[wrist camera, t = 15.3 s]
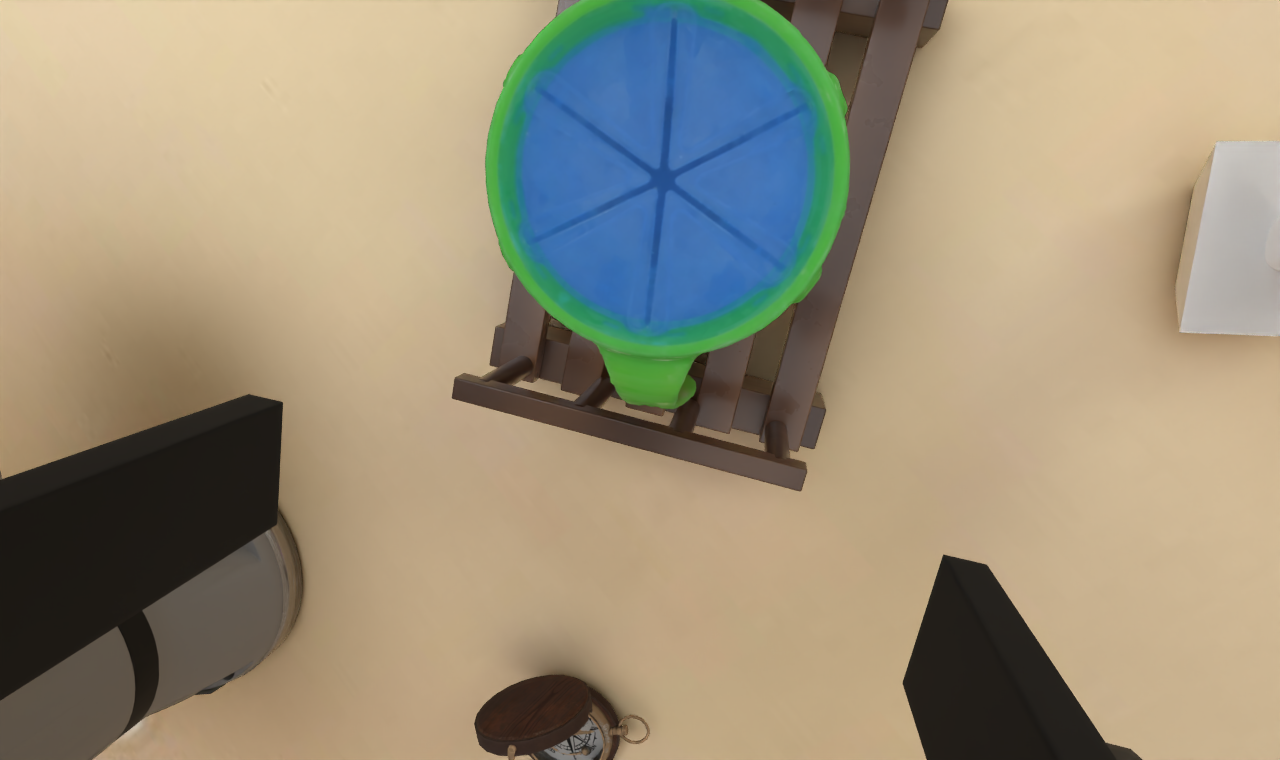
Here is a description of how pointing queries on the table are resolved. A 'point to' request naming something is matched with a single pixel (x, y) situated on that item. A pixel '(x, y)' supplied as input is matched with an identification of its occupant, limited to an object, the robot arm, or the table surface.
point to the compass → (551, 721)
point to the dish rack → (725, 397)
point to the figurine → (1233, 244)
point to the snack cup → (667, 179)
